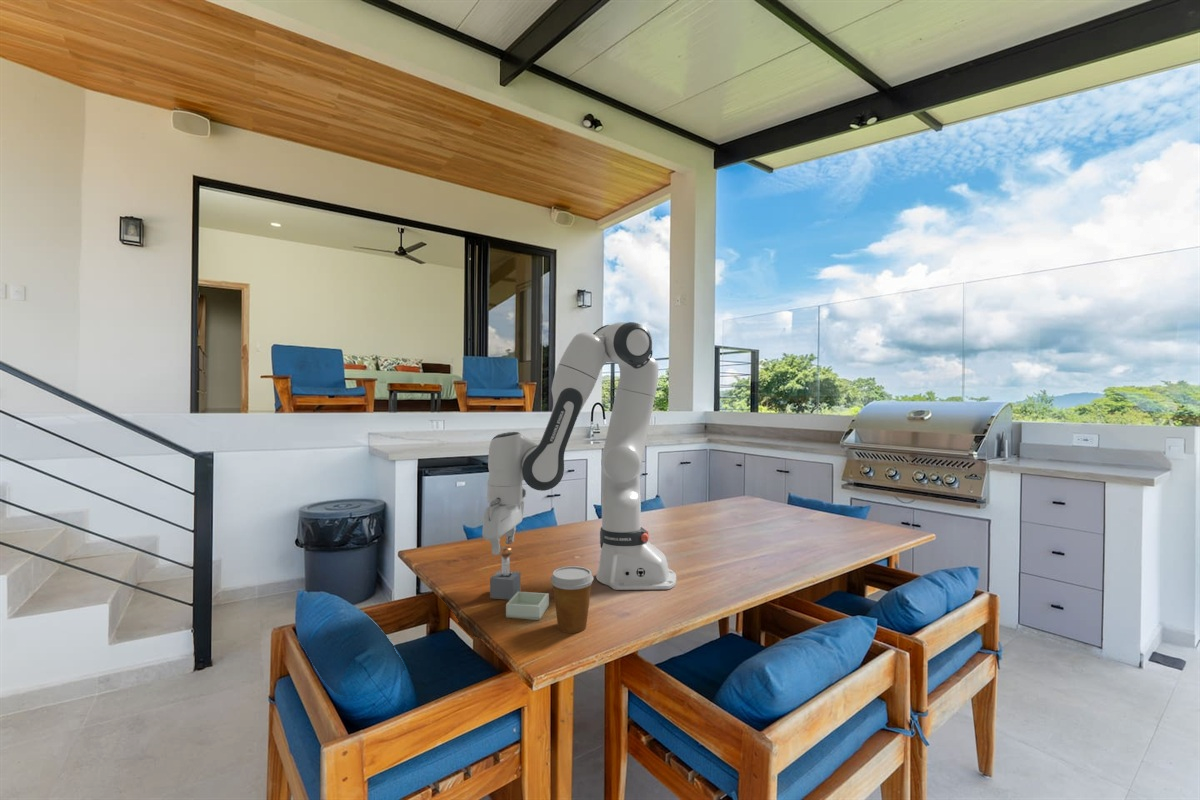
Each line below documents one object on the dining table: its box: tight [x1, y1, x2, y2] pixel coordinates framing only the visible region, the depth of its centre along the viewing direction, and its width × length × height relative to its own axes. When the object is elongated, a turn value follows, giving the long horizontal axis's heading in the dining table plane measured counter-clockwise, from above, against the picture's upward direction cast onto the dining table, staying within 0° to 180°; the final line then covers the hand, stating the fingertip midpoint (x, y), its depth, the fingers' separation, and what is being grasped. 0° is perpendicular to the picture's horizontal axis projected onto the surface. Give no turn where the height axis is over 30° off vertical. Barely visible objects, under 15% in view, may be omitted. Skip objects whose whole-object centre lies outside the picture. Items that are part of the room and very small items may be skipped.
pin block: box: [489, 570, 522, 601], centre depth 129 cm, size 6×6×5 cm
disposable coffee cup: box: [550, 565, 595, 634], centre depth 111 cm, size 10×10×12 cm
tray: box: [505, 591, 550, 621], centre depth 119 cm, size 8×8×3 cm
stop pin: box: [498, 545, 513, 577], centre depth 129 cm, size 3×3×12 cm
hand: (503, 548), depth 129 cm, fingers open, 8 cm apart
